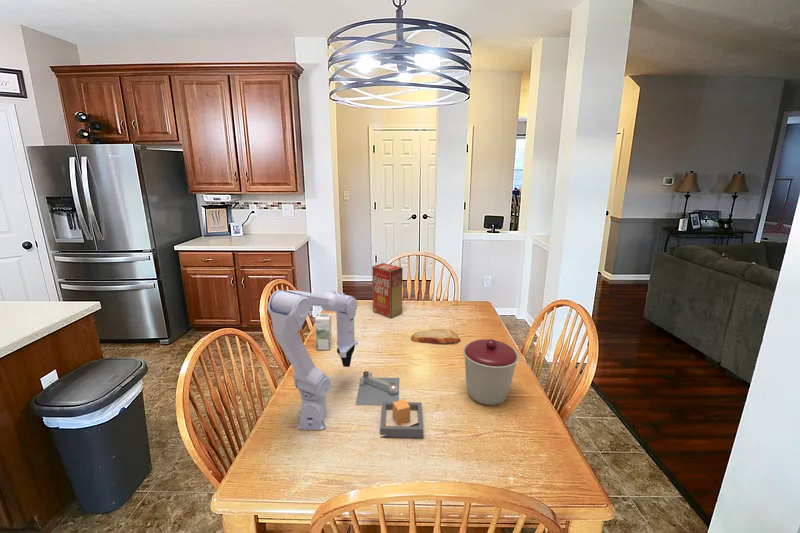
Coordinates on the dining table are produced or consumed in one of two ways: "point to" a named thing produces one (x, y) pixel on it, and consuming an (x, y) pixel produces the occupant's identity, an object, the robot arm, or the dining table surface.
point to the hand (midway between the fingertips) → (346, 365)
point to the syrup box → (323, 331)
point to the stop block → (401, 412)
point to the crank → (379, 383)
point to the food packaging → (387, 290)
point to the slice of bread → (435, 336)
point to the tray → (402, 431)
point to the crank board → (376, 394)
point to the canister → (489, 370)
